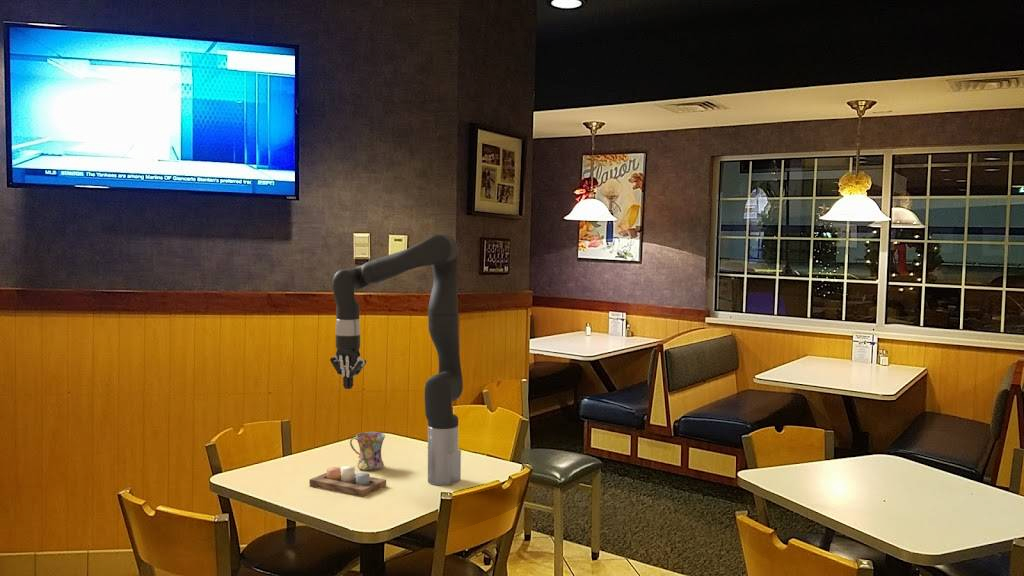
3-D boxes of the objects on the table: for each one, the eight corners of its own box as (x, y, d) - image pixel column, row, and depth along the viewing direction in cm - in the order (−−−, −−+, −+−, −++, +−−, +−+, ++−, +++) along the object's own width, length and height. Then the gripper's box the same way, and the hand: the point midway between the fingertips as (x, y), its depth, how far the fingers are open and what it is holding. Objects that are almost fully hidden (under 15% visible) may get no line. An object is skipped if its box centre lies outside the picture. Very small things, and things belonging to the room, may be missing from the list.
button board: (386, 486, 237) (386, 479, 237) (363, 496, 228) (363, 490, 227) (333, 476, 246) (333, 469, 246) (309, 486, 237) (309, 479, 237)
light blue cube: (372, 487, 235) (372, 473, 235) (363, 490, 232) (363, 477, 231) (361, 484, 237) (361, 471, 237) (352, 488, 234) (352, 475, 233)
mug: (390, 465, 259) (390, 433, 258) (376, 473, 250) (376, 440, 249) (357, 461, 262) (357, 430, 262) (343, 469, 254) (342, 436, 253)
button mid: (357, 480, 238) (357, 467, 237) (348, 483, 234) (348, 470, 234) (346, 478, 240) (346, 465, 239) (338, 481, 236) (338, 468, 236)
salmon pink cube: (343, 481, 240) (343, 468, 240) (334, 484, 237) (334, 471, 237) (332, 479, 242) (332, 466, 242) (323, 482, 239) (323, 469, 238)
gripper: (372, 333, 247) (372, 388, 248) (339, 330, 253) (339, 384, 254) (357, 336, 240) (357, 392, 241) (323, 333, 246) (323, 388, 247)
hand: (348, 388), depth 248 cm, fingers closed
